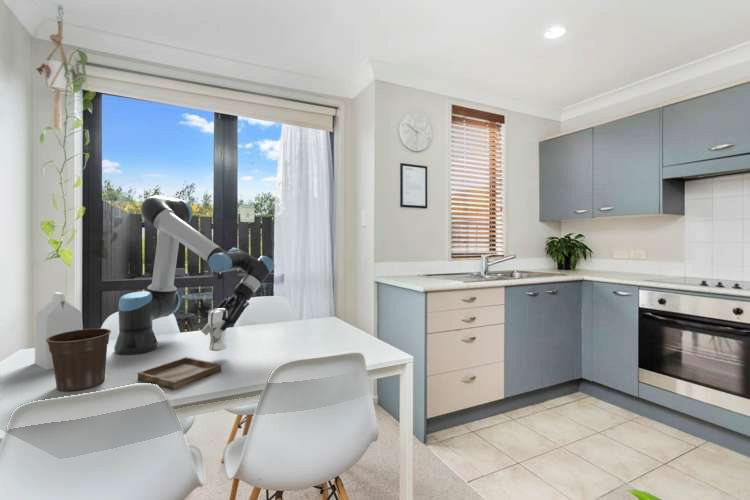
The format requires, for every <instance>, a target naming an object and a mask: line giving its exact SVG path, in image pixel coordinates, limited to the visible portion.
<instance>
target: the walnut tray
mask: <svg viewBox="0 0 750 500" xmlns="http://www.w3.org/2000/svg"><path fill="white" fill-rule="evenodd" d="M221 372H222V364H221V363H217V362H216V363H215V362H211V361H206V360H201V359H197V358H193V357H189V356H185V357H182V358H178V359H176V360H172V361H169V362H168V363H167V362H166V363H163V364H161V365H158V366H154V367H151V368H148V369H144V370H142V371H139V372H137V381H139V382H142V383H145V382H147V383H146V384H149V383H153V384H157V385H159V386H158V387H159V388H164V389H167V390H170V391H176V390H180V389H181V388H184V387H187V386H189V385H192V384H194V383H196V382H199V381H201V380H204V379H207V378H209V377H211V376H213V375H217V374H219V373H221ZM153 384H152V385H153Z"/></svg>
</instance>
